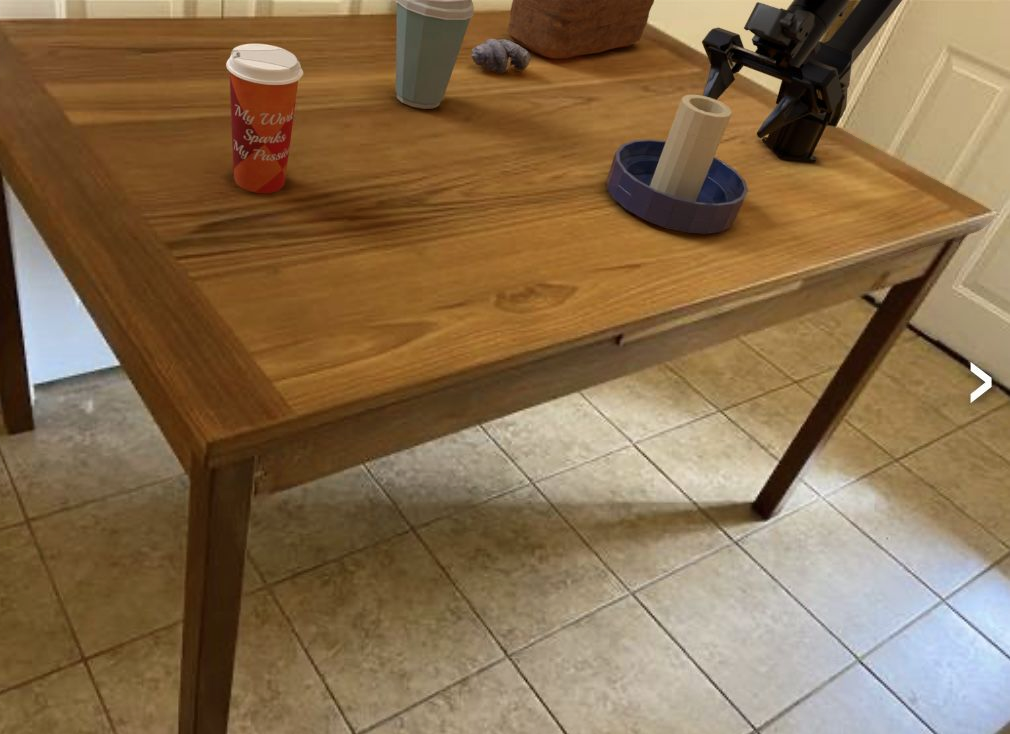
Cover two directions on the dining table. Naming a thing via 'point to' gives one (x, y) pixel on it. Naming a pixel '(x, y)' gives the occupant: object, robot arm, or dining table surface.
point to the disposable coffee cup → (428, 48)
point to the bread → (577, 25)
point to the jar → (691, 146)
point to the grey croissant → (500, 55)
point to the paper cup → (262, 114)
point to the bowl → (702, 216)
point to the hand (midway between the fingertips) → (728, 123)
